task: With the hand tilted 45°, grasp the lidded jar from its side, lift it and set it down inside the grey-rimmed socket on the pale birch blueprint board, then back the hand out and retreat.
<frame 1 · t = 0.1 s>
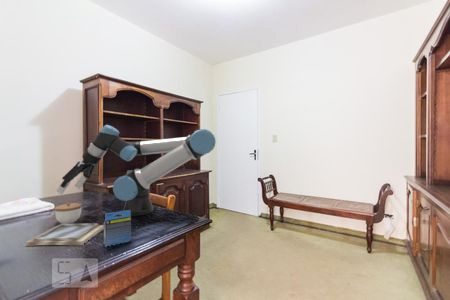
hand: (68, 189, 111), 15 cm above the table, tool tilted 35°, fingers open, 13 cm apart
label tape box: (117, 243, 86), on the table
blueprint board: (68, 236, 92), on the table
lidded jar: (68, 222, 110), on the table
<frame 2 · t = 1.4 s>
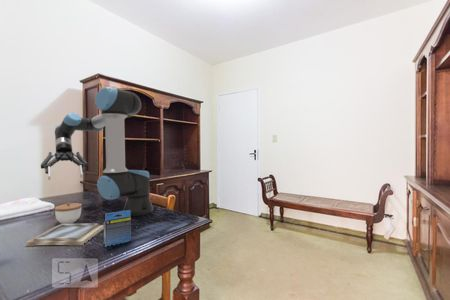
hand: (66, 177, 118), 20 cm above the table, tool tilted 45°, fingers open, 13 cm apart
nothing on the table moved.
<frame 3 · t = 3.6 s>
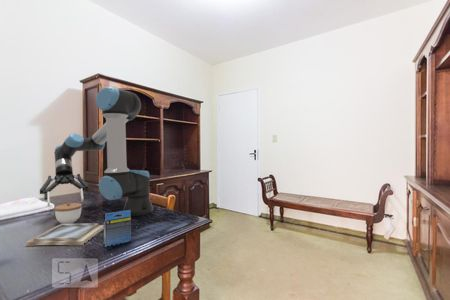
hand: (66, 202, 112), 9 cm above the table, tool tilted 45°, fingers open, 13 cm apart
nothing on the table moved.
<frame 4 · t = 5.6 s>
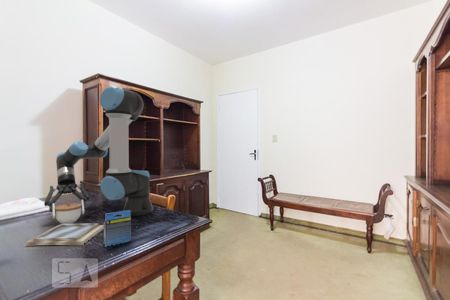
hand: (69, 214, 107), 4 cm above the table, tool tilted 45°, fingers closed on lidded jar, 11 cm apart
lidded jar: (68, 222, 110), on the table, touching gripper
everything else where it was.
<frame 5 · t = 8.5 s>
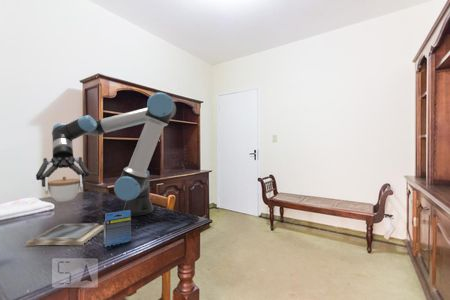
hand: (64, 190, 92), 19 cm above the table, tool tilted 45°, fingers closed on lidded jar, 11 cm apart
lidded jar: (64, 200, 94), point 14 cm above the table, touching gripper
everything else where it was.
when the fingers open (8 cm above the table, at t = 11.6 s): lidded jar drops 2 cm, resting on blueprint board.
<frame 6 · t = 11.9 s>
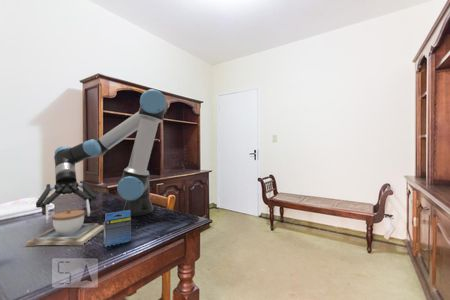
hand: (69, 217, 90), 8 cm above the table, tool tilted 45°, fingers open, 13 cm apart
lidded jar: (69, 232, 92), point 1 cm above the table, touching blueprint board
everything else where it was.
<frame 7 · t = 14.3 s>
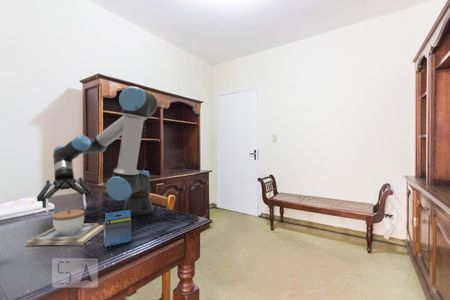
hand: (67, 210, 100), 8 cm above the table, tool tilted 45°, fingers open, 13 cm apart
nothing on the table moved.
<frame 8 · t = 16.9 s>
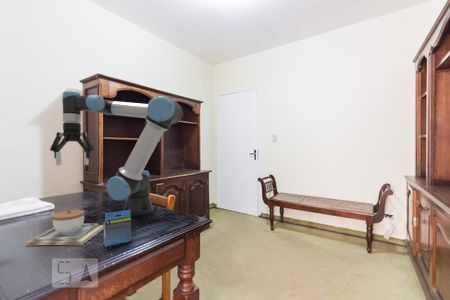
hand: (72, 165, 116), 27 cm above the table, tool pointing down, fingers open, 13 cm apart
nothing on the table moved.
at the end: lidded jar 0.1 cm off-centre on the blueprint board, point 1.4 cm above the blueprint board's base; lidded jar tilted 0°; the gripper is holding nothing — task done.
